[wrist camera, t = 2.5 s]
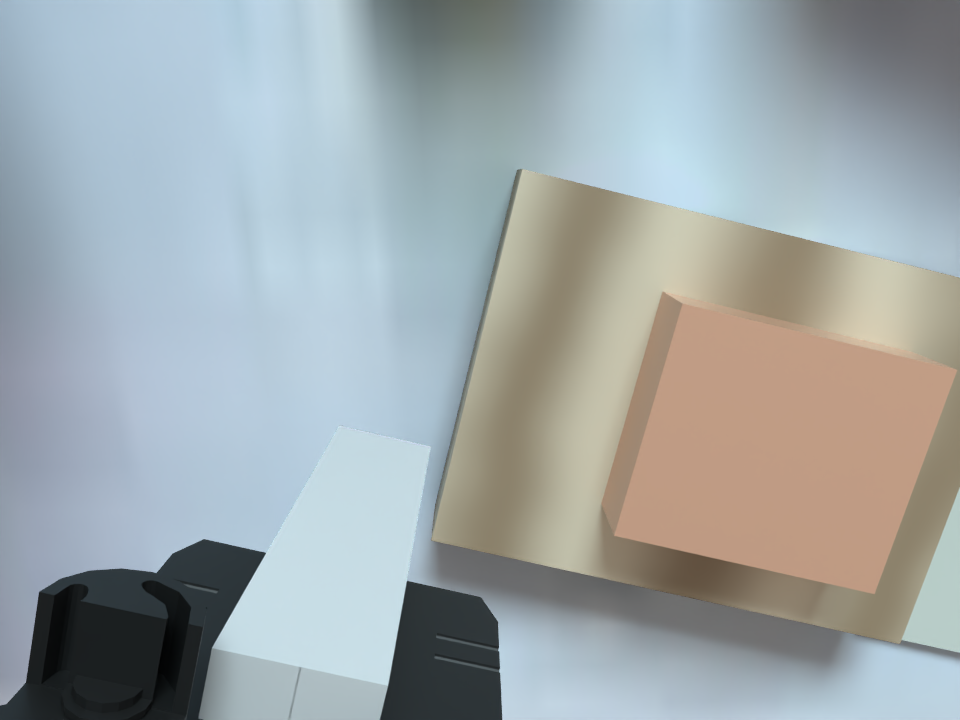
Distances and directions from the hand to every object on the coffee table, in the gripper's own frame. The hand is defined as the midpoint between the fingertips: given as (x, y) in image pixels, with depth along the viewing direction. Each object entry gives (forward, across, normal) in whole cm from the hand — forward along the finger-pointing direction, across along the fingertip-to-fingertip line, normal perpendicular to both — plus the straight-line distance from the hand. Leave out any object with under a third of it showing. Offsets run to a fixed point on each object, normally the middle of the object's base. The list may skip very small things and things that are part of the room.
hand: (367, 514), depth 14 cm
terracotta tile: (+13, +11, 0) cm, 17 cm away
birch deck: (+16, +10, 0) cm, 18 cm away
